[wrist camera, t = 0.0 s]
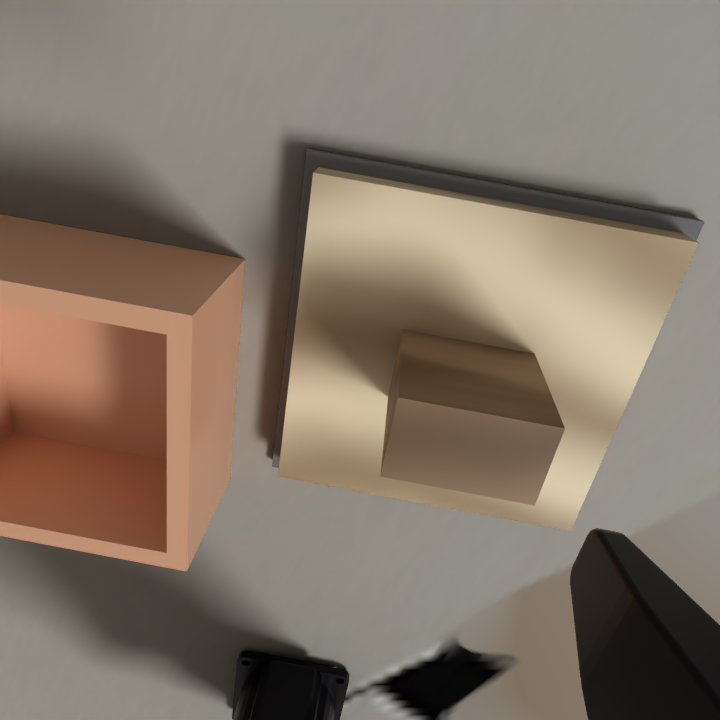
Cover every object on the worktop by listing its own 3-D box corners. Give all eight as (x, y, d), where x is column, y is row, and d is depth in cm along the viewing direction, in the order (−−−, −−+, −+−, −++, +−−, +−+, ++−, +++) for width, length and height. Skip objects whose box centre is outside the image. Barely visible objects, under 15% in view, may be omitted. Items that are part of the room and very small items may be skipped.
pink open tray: (232, 474, 28) (186, 571, 22) (10, 432, 28) (-87, 519, 22) (246, 257, 22) (192, 315, 17) (-25, 207, 23) (-162, 250, 17)
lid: (564, 512, 26) (603, 631, 20) (283, 459, 26) (247, 564, 20) (684, 233, 20) (785, 295, 14) (318, 167, 20) (280, 203, 15)
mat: (569, 516, 26) (571, 522, 26) (274, 461, 27) (272, 466, 26) (699, 219, 20) (704, 221, 20) (308, 148, 20) (306, 149, 20)
